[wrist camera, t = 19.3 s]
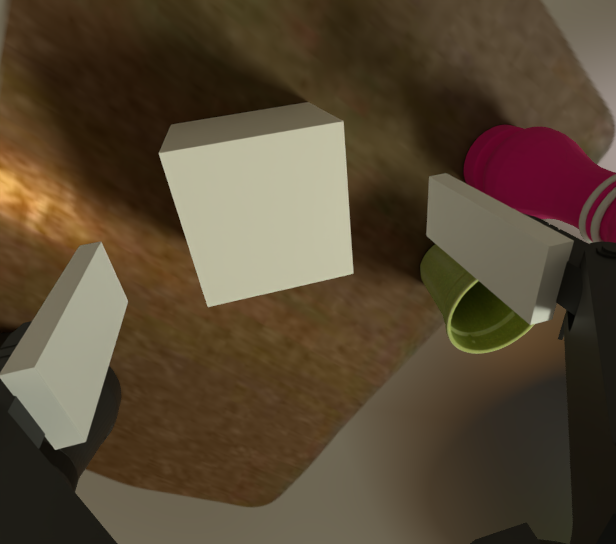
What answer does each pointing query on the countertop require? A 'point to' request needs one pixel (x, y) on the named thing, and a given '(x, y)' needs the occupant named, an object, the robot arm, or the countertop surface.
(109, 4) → the countertop surface
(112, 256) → the countertop surface
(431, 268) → the plant pot
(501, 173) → the pepper mill
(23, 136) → the countertop surface
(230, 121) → the cream cuboid
